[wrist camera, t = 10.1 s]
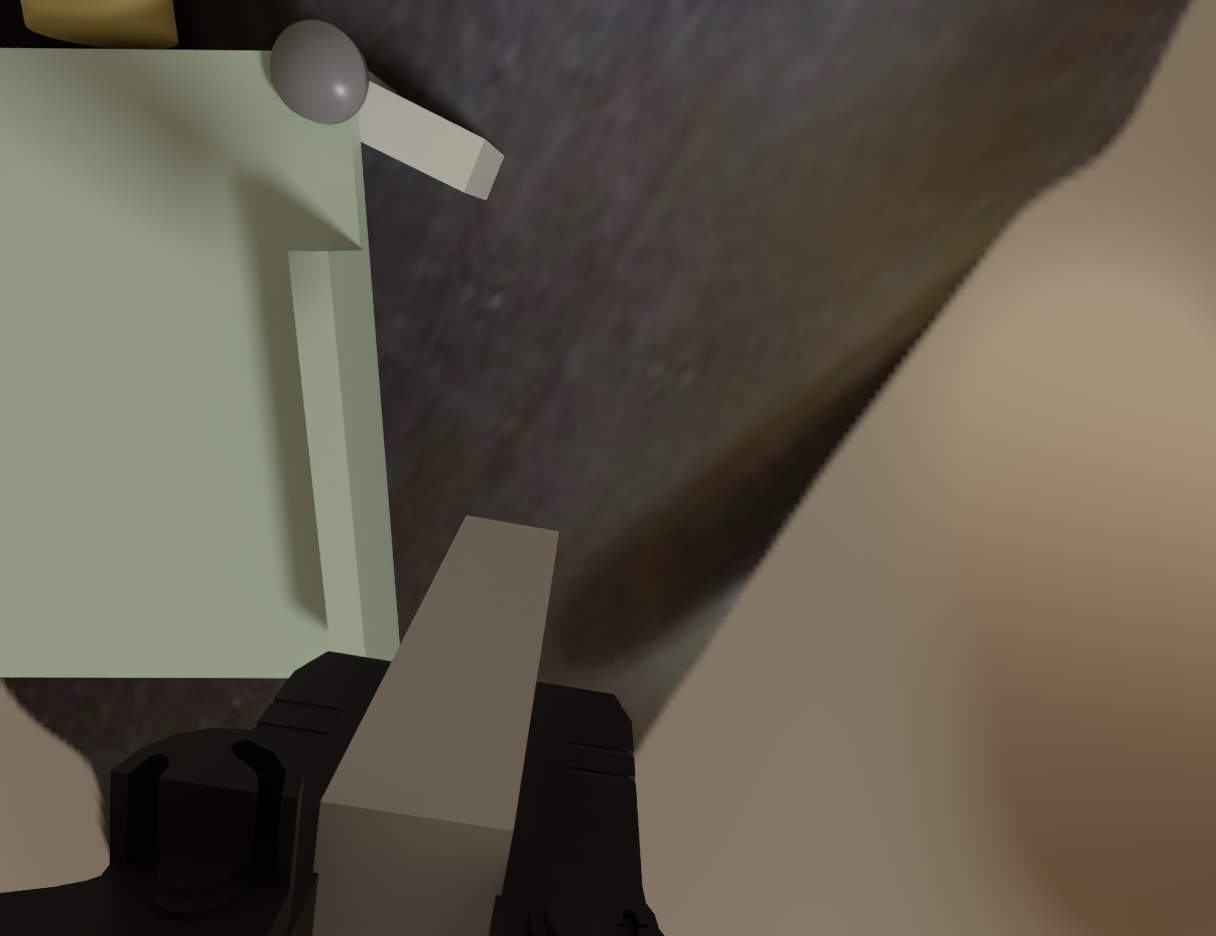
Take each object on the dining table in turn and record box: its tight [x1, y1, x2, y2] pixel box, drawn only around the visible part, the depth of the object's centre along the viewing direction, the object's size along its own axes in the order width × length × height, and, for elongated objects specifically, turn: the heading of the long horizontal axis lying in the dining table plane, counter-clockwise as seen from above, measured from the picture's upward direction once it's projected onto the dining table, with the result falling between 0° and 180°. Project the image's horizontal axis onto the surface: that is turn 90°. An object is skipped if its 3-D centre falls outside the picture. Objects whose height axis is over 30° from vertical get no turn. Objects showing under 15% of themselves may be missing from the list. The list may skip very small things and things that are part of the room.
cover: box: [0, 20, 400, 678], centre depth 22 cm, size 15×20×4 cm
